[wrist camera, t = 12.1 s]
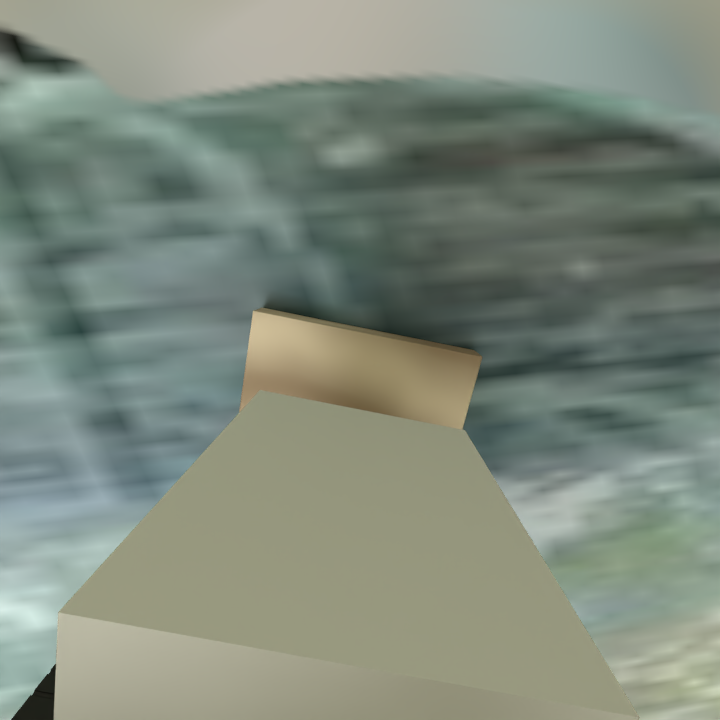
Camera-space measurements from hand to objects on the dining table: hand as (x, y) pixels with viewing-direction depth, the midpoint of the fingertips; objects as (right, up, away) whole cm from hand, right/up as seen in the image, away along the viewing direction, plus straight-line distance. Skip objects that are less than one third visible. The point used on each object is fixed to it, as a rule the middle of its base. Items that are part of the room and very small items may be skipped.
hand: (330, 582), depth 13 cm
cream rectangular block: (0, -1, +2) cm, 3 cm away
